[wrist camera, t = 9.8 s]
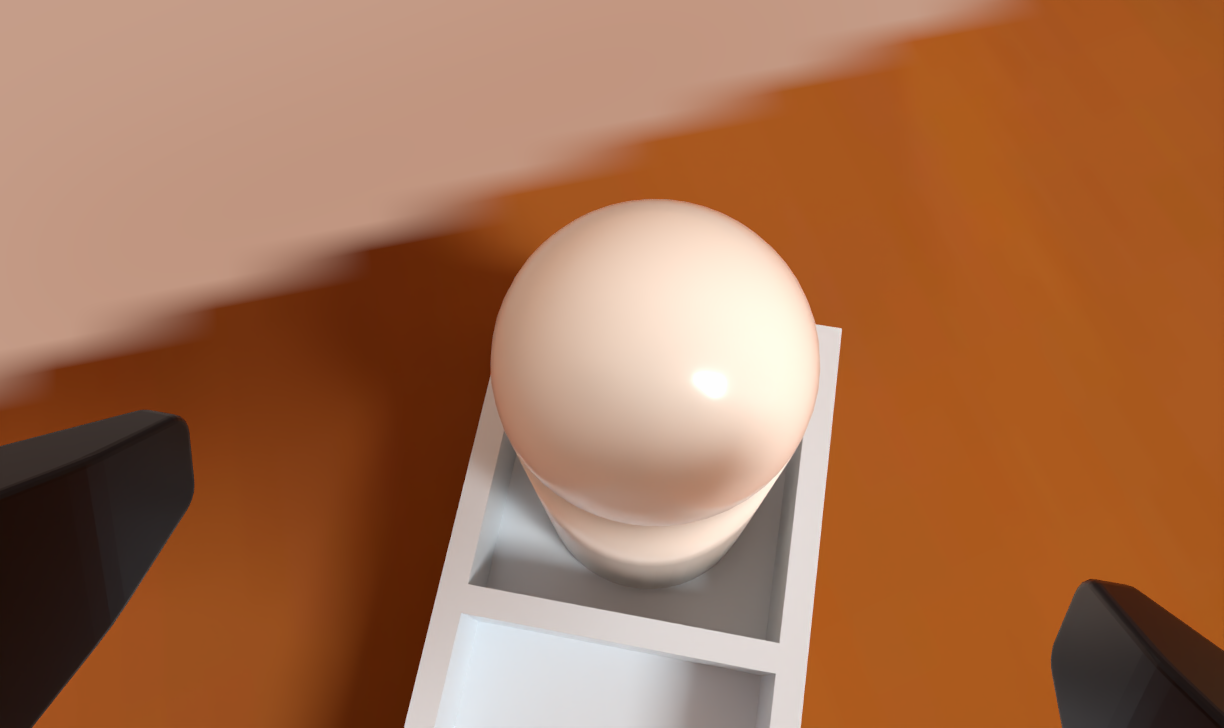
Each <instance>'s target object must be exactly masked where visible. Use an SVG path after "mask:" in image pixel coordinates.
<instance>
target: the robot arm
mask: <svg viewBox="0 0 1224 728" xmlns="http://www.w3.org/2000/svg"><path fill="white" fill-rule="evenodd" d="M193 493H194V474H193V464H192V454H191V444H190V434H189V429H188V425H187V423H186V421H185V420H184V419H183V418H181V417H180V416H178V415H174V414H168V413H163V412H157V411H151V410H139V411H135V412H131V413H127V414H123V415H119V416H116V417H112V418H108V419H104V420H100V421H96V422H92V423H88V424H85V425H81V426H77V427H73V428H69V429H65V430H61V431H57V432H54V433H50V434H46V435H42V436H38V437H34V438H30V439H27V440H23V441H19V442H15V443H11V444H7V445H3V446H0V728H32V727H33V726H34V724H35V723H36V722H37V721H38V719H39V718H40V717H41V716H42V714H43V713H44V712H45V711H46V709H47V708H48V707H49V705H50V704H51V703H52V702H53V700H54V699H55V698H56V697H57V695H58V694H59V693H60V692H61V690H62V689H63V688H64V687H65V685H66V684H67V683H68V682H69V680H70V679H71V678H72V677H73V675H74V674H75V673H76V672H77V670H78V669H79V668H80V666H81V665H82V664H83V663H84V661H85V660H86V659H87V658H88V656H89V655H90V654H91V653H92V651H93V650H94V649H95V648H96V646H97V645H98V644H99V642H100V641H101V640H102V638H103V637H104V636H105V634H106V633H107V632H108V630H109V629H110V628H111V626H112V625H113V624H114V622H115V621H116V619H117V618H118V616H119V615H120V613H121V612H122V610H123V609H124V608H125V606H126V605H127V603H128V601H129V600H130V598H131V597H132V595H133V594H134V592H135V590H136V589H137V587H138V586H139V584H140V583H141V581H142V579H143V578H144V576H145V575H146V573H147V572H148V570H149V569H150V567H151V565H152V564H153V562H154V561H155V559H156V558H157V556H158V554H159V553H160V551H161V550H162V548H163V547H164V545H165V544H166V542H167V540H168V539H169V537H170V536H171V534H172V533H173V531H174V529H175V528H176V526H177V525H178V523H179V522H180V520H181V518H182V517H183V515H184V514H185V512H186V511H187V509H188V507H189V505H190V503H191V500H192V497H193ZM1051 669H1052V676H1053V681H1054V687H1055V692H1056V697H1057V703H1058V708H1059V713H1060V719H1061V724H1062V728H1224V651H1223V650H1222V649H1220V648H1219V647H1217V646H1216V645H1215V644H1213V643H1212V642H1210V641H1209V640H1208V639H1206V638H1205V637H1203V636H1202V635H1201V634H1199V633H1198V632H1196V631H1195V630H1194V629H1192V628H1191V627H1189V626H1188V625H1186V624H1185V623H1184V622H1182V621H1181V620H1179V619H1178V618H1177V617H1175V616H1174V615H1172V614H1171V613H1170V612H1168V611H1167V610H1165V609H1164V608H1163V607H1161V606H1160V605H1158V604H1157V603H1156V602H1154V601H1153V600H1151V599H1150V598H1148V597H1147V596H1146V595H1144V594H1143V593H1141V592H1140V591H1139V590H1137V589H1136V588H1134V587H1131V586H1128V585H1124V584H1119V583H1113V582H1107V581H1102V580H1096V579H1089V580H1087V581H1085V582H1082V584H1081V585H1080V586H1079V587H1078V589H1077V590H1076V592H1075V594H1074V597H1073V599H1072V601H1071V604H1070V606H1069V609H1068V611H1067V613H1066V616H1065V618H1064V620H1063V623H1062V625H1061V628H1060V630H1059V632H1058V635H1057V637H1056V639H1055V642H1054V645H1053V649H1052V655H1051Z"/></svg>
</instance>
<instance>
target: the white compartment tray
mask: <svg viewBox="0 0 1224 728" xmlns="http://www.w3.org/2000/svg"><path fill="white" fill-rule="evenodd" d="M514 279H515V278H514ZM815 325H816V324H815ZM816 330H817V335H818V340H819V354H820V376H819V388H818V393H817V398H816V402H815V406H814V410H813V413H812V416H811V418H810V421H809V423H808V426H807V429H806V431H805V434H804V436H803V438H802V440H801V442H800V443H799V445H798V447H797V449H796V450H795V452H794V454H793V456H792V457H791V459H790V460H789V462H788V463H787V465H786V466H785V468H784V469H783V471H782V472H781V474H780V475H779V477H778V478H777V480H776V481H775V483H774V484H773V486H772V488H771V489H770V491H769V492H768V494H767V495H766V497H765V498H764V500H763V501H762V503H761V504H760V506H759V507H758V509H757V510H756V512H755V513H754V515H753V516H752V518H751V519H750V521H749V522H748V524H747V525H746V527H745V529H744V530H743V532H742V533H741V535H740V536H739V538H738V539H737V541H736V542H735V544H734V545H733V546H732V548H731V549H730V550H729V552H728V553H727V554H726V555H725V556H724V557H723V558H722V559H721V560H720V561H719V562H718V563H717V564H716V565H715V566H713V567H712V568H711V569H709V570H708V571H707V572H705V573H704V574H702V575H700V576H698V577H697V578H695V579H693V580H690V581H688V582H685V583H683V584H680V585H676V586H671V587H667V588H658V589H639V588H632V587H626V586H623V585H619V584H616V583H613V582H610V581H608V580H606V579H604V578H602V577H600V576H598V575H596V574H595V573H593V572H592V571H590V570H588V569H587V568H586V567H585V566H584V565H582V564H581V563H580V562H579V561H578V560H577V559H576V558H575V557H574V556H573V555H572V554H571V553H570V552H569V551H568V549H567V548H566V547H565V545H564V544H563V542H562V541H561V539H560V538H559V536H558V534H557V532H556V530H555V528H554V526H553V524H552V522H551V520H550V518H549V516H548V514H547V512H546V510H545V508H544V506H543V504H542V503H541V501H540V499H539V497H538V495H537V493H536V491H535V489H534V487H533V485H532V483H531V481H530V479H529V477H528V475H527V473H526V471H525V470H524V468H523V466H522V464H521V462H520V460H519V458H518V456H517V454H516V452H515V450H514V448H513V446H512V444H511V442H510V440H509V438H508V437H507V435H506V433H505V431H504V428H503V425H502V422H501V420H500V417H499V414H498V411H497V407H496V404H495V399H494V394H493V389H492V384H491V375H490V379H489V383H488V388H487V392H486V396H485V400H484V404H483V408H482V412H481V416H480V420H479V424H478V428H477V432H476V436H475V440H474V445H473V449H472V453H471V457H470V461H469V465H468V469H467V473H466V477H465V481H464V485H463V489H462V493H461V497H460V502H459V506H458V510H457V514H456V518H455V522H454V526H453V530H452V534H451V538H450V542H449V546H448V550H447V554H446V558H445V563H444V567H443V571H442V575H441V579H440V583H439V587H438V591H437V595H436V599H435V603H434V607H433V611H432V615H431V620H430V624H429V628H428V632H427V636H426V640H425V644H424V648H423V652H422V656H421V660H420V664H419V668H418V672H417V677H416V681H415V685H414V689H413V693H412V697H411V701H410V705H409V709H408V713H407V717H406V721H405V725H404V728H801V718H802V709H803V699H804V689H805V680H806V670H807V660H808V651H809V641H810V631H811V622H812V612H813V603H814V593H815V583H816V574H817V564H818V554H819V545H820V535H821V525H822V516H823V506H824V496H825V487H826V477H827V468H828V458H829V448H830V439H831V429H832V419H833V410H834V400H835V390H836V381H837V371H838V361H839V352H840V342H841V333H842V329H841V328H835V327H828V326H822V325H816Z"/></svg>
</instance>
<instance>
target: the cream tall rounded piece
mask: <svg viewBox="0 0 1224 728" xmlns="http://www.w3.org/2000/svg"><path fill="white" fill-rule="evenodd" d="M490 367H491V384H492V389H493V394H494V399H495V404H496V407H497V411H498V414H499V417H500V420H501V422H502V425H503V428H504V431H505V433H506V435H507V437H508V438H509V440H510V442H511V444H512V446H513V448H514V450H515V452H516V454H517V456H518V458H519V460H520V462H521V464H522V466H523V468H524V470H525V471H526V473H527V475H528V477H529V479H530V481H531V483H532V485H533V487H534V489H535V491H536V493H537V495H538V497H539V499H540V501H541V503H542V504H543V506H544V508H545V510H546V512H547V514H548V516H549V518H550V520H551V522H552V524H553V526H554V528H555V530H556V532H557V534H558V536H559V538H560V539H561V541H562V542H563V544H564V545H565V547H566V548H567V549H568V551H569V552H570V553H571V554H572V555H573V556H574V557H575V558H576V559H577V560H578V561H579V562H580V563H581V564H582V565H584V566H585V567H586V568H587V569H588V570H590V571H592V572H593V573H595V574H596V575H598V576H600V577H602V578H604V579H606V580H608V581H610V582H613V583H616V584H619V585H623V586H626V587H632V588H639V589H658V588H667V587H671V586H676V585H680V584H683V583H685V582H688V581H690V580H693V579H695V578H697V577H698V576H700V575H702V574H704V573H705V572H707V571H708V570H709V569H711V568H712V567H713V566H715V565H716V564H717V563H718V562H719V561H720V560H721V559H722V558H723V557H724V556H725V555H726V554H727V553H728V552H729V550H730V549H731V548H732V546H733V545H734V544H735V542H736V541H737V539H738V538H739V536H740V535H741V533H742V532H743V530H744V529H745V527H746V525H747V524H748V522H749V521H750V519H751V518H752V516H753V515H754V513H755V512H756V510H757V509H758V507H759V506H760V504H761V503H762V501H763V500H764V498H765V497H766V495H767V494H768V492H769V491H770V489H771V488H772V486H773V484H774V483H775V481H776V480H777V478H778V477H779V475H780V474H781V472H782V471H783V469H784V468H785V466H786V465H787V463H788V462H789V460H790V459H791V457H792V456H793V454H794V452H795V450H796V449H797V447H798V445H799V443H800V442H801V440H802V438H803V436H804V434H805V431H806V429H807V426H808V423H809V421H810V418H811V416H812V413H813V410H814V406H815V402H816V398H817V393H818V388H819V376H820V354H819V340H818V335H817V330H816V325H815V321H814V318H813V315H812V312H811V309H810V306H809V303H808V301H807V299H806V296H805V294H804V292H803V290H802V288H801V286H800V284H799V282H798V280H797V279H796V277H795V276H794V274H793V273H792V271H791V270H790V268H789V267H788V265H787V264H786V263H785V261H784V260H783V259H782V258H781V257H780V256H779V255H778V254H777V252H776V251H775V250H774V249H773V248H772V247H771V246H770V245H768V244H767V243H766V242H765V241H764V240H763V239H762V238H760V237H759V236H758V235H757V234H756V233H755V232H753V231H752V230H750V229H749V228H747V227H746V226H744V225H743V224H741V223H740V222H738V221H736V220H734V219H732V218H731V217H729V216H727V215H725V214H723V213H720V212H718V211H715V210H712V209H710V208H707V207H704V206H701V205H696V204H692V203H688V202H683V201H675V200H667V199H645V200H635V201H627V202H623V203H618V204H614V205H610V206H607V207H604V208H601V209H598V210H595V211H592V212H590V213H588V214H586V215H584V216H582V217H580V218H578V219H576V220H574V221H573V222H571V223H570V224H568V225H567V226H565V227H564V228H562V229H560V230H559V231H558V232H556V233H555V234H554V235H552V236H551V237H550V238H549V239H548V240H546V241H545V242H544V243H543V244H542V245H541V246H540V247H539V248H538V249H537V250H536V251H535V252H534V253H533V254H532V255H531V256H530V257H529V258H528V260H527V261H526V262H525V264H524V265H523V267H522V268H521V269H520V271H519V272H518V274H517V275H516V277H515V279H514V281H513V282H512V284H511V286H510V288H509V290H508V292H507V294H506V295H505V297H504V300H503V302H502V305H501V308H500V310H499V313H498V316H497V320H496V324H495V329H494V333H493V339H492V349H491V361H490Z"/></svg>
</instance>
